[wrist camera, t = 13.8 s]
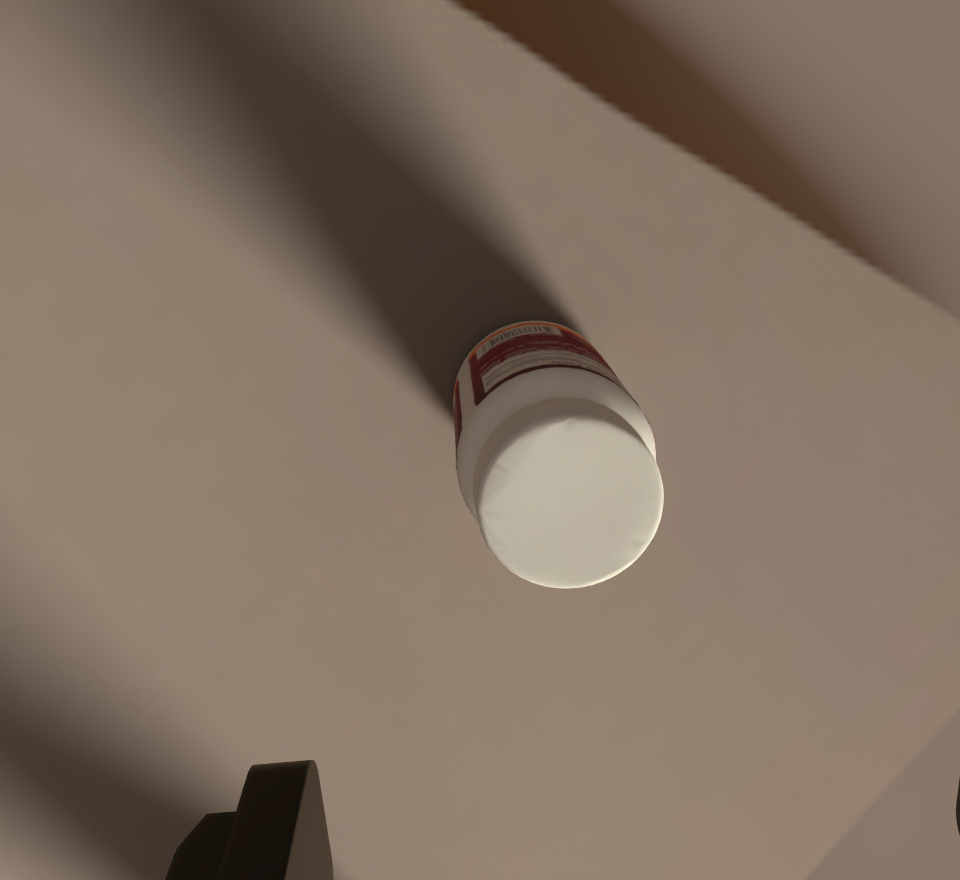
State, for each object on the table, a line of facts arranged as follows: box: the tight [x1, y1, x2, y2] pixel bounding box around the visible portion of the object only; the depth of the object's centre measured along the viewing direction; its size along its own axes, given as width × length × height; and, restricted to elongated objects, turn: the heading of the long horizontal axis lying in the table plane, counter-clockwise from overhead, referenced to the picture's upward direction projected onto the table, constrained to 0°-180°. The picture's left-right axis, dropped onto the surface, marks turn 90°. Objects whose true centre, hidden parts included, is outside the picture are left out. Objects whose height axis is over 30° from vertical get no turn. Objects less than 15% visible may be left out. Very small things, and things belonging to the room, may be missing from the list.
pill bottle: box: [453, 321, 664, 588], centre depth 23 cm, size 5×5×8 cm
